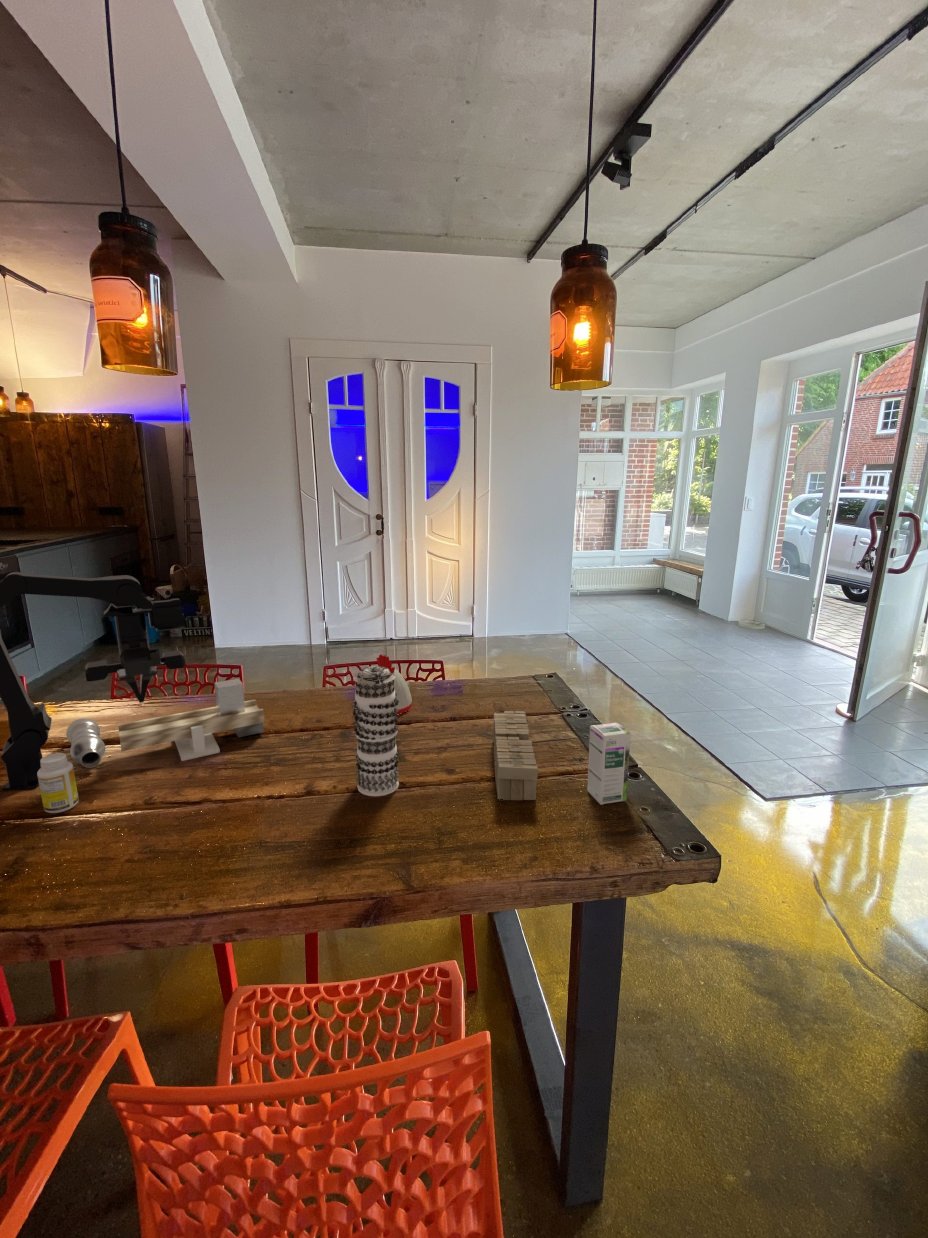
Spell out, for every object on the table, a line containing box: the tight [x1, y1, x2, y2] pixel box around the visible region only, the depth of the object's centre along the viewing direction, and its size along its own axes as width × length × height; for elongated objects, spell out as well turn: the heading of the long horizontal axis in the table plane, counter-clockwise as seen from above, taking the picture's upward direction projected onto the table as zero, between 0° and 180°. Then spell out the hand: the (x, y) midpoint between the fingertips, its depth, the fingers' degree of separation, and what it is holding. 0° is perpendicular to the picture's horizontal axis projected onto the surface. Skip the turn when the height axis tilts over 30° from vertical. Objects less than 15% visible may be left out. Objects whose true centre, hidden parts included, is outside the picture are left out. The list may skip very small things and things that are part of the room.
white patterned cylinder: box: [351, 665, 400, 797], centre depth 114 cm, size 9×9×25 cm
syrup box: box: [586, 721, 631, 806], centre depth 111 cm, size 6×6×14 cm
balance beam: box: [117, 698, 265, 752], centre depth 133 cm, size 30×8×6 cm, turn 123°
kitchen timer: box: [375, 654, 413, 714], centre depth 157 cm, size 14×14×15 cm
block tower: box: [492, 710, 539, 801], centre depth 123 cm, size 8×8×29 cm
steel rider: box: [214, 678, 245, 717], centre depth 137 cm, size 6×4×8 cm
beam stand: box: [174, 725, 221, 762], centre depth 134 cm, size 8×14×7 cm, turn 33°
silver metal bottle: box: [65, 717, 107, 768], centre depth 128 cm, size 6×7×20 cm
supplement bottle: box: [37, 752, 80, 814], centre depth 107 cm, size 6×6×10 cm
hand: (141, 702), depth 126 cm, fingers closed
